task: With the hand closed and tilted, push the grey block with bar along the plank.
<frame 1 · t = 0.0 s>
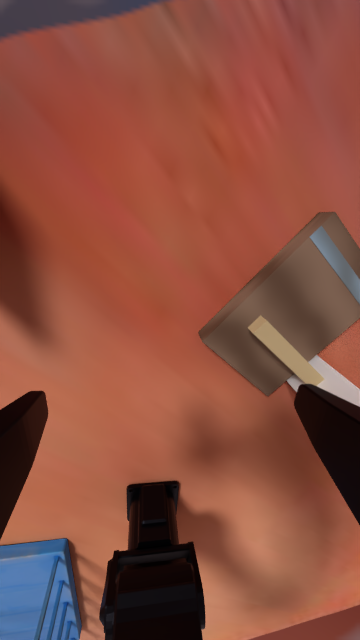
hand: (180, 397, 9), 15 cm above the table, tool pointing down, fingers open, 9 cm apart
file sorter: (15, 591, 37), on the table
plank: (285, 309, 25), on the table
grey block with bar: (317, 382, 20), point 6 cm above the table, slide at 0.0 cm
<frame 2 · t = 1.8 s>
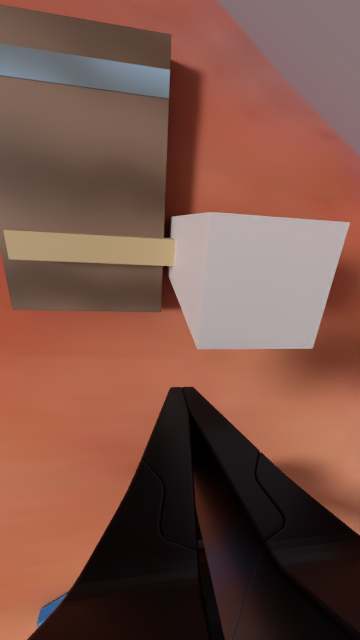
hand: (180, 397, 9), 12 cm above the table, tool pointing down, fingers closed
plank: (88, 194, 16), on the table
grey block with bar: (128, 255, 12), point 6 cm above the table, slide at 0.0 cm
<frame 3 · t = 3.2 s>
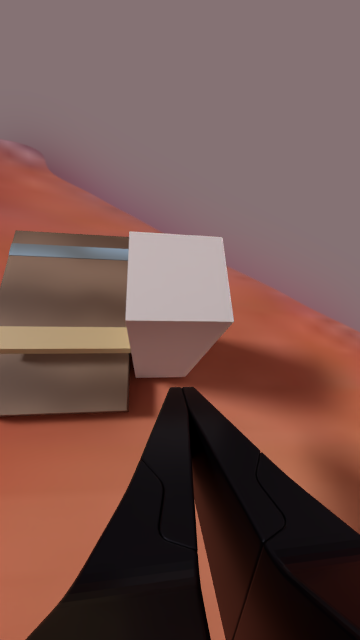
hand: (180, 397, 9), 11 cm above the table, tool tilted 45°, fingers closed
plank: (71, 320, 21), on the table
grey block with bar: (90, 327, 15), point 6 cm above the table, slide at 0.0 cm
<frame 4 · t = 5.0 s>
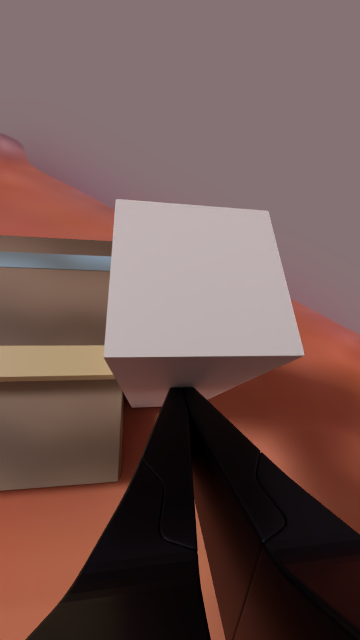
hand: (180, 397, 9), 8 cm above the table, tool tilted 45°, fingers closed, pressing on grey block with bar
plank: (49, 348, 16), on the table
grey block with bar: (66, 348, 10), point 6 cm above the table, slide at 1.1 cm, touching gripper
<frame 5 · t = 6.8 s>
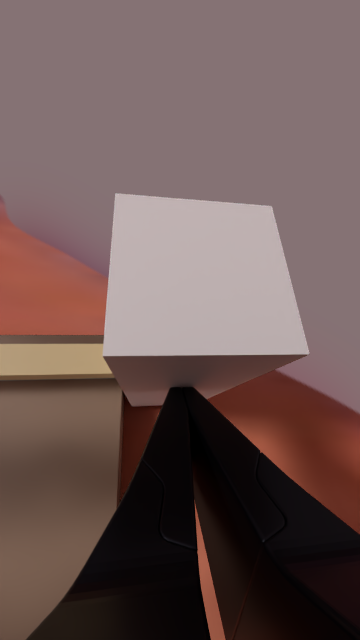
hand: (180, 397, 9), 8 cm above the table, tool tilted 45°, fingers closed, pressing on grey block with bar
plank: (26, 478, 13), on the table
grey block with bar: (65, 347, 10), point 6 cm above the table, slide at 8.5 cm, touching gripper
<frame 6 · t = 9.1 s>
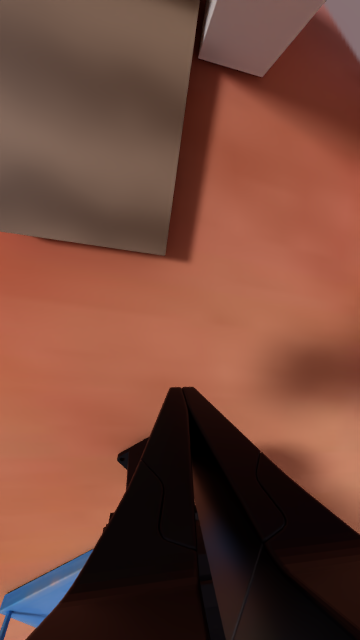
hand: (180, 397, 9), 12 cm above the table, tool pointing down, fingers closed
file sorter: (117, 594, 37), on the table
plank: (96, 110, 15), on the table
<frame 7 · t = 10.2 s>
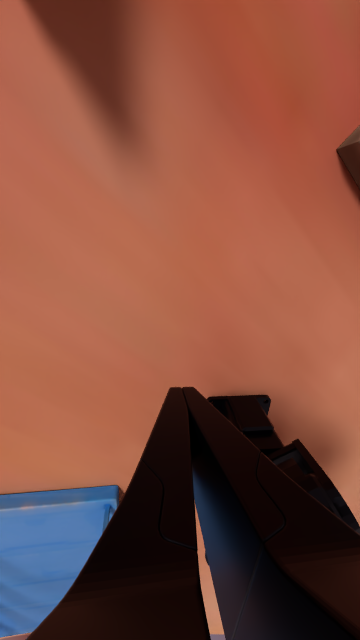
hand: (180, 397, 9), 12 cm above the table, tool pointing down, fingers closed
file sorter: (49, 555, 31), on the table
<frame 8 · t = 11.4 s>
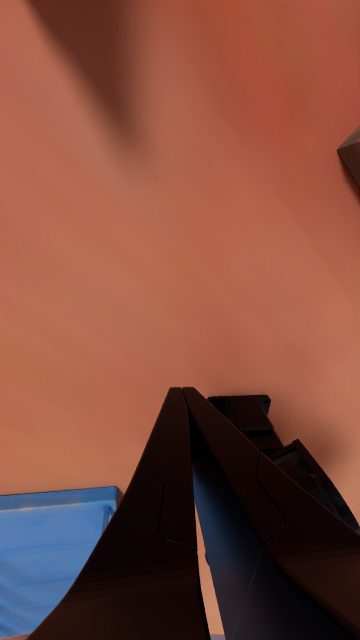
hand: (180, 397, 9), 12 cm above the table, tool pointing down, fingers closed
file sorter: (48, 556, 31), on the table
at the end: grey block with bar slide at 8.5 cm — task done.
